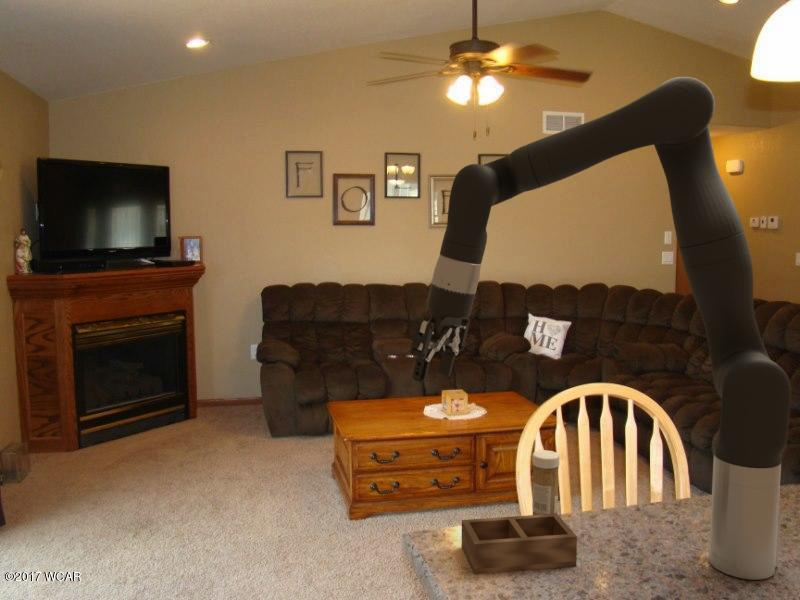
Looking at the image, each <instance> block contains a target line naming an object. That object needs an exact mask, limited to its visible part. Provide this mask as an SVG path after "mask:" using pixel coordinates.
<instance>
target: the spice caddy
mask: <svg viewBox="0 0 800 600" xmlns="http://www.w3.org/2000/svg"><path fill="white" fill-rule="evenodd" d="M461 549H462V552H463V554H464V556H465V558H466V560H467V562H468V563H469V566H470V567H471V569H472V571H473V574H474V575H482V574H496V573H497V574H498V573H506V572H518V571H519V572H520V571H521V572H522V571H530V570H532V571H533V570H542V569H543V570H544V569H545V570H546V569H555V568H556V569H557V568H559V569H560V568H568V567H577V561H578V559H577V557H578V555H577V554H578V536H577V535H576V534H575V532H574V531H573V530H572V529H571V528H570V526H569V525H568V524H567V523H566V522H565V521H564V520H563V518H562V517H560V515H559V513H557V514H543V515H533V514H531V515H530V514H527V515H516V516H515V515H514V516H502V517H500V516H499V517H489V518H488V517H487V518H475V519H471V518H470V519H462V520H461Z"/></svg>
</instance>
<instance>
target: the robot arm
mask: <svg viewBox="0 0 800 600" xmlns="http://www.w3.org/2000/svg"><path fill="white" fill-rule="evenodd" d="M715 103H716V101H715V97H714V94H713V93H712V90H711V89H710V88H709V87H708V85H707V84H706V83H704V82H703V81H702V80H699V79H698V78H695V77H692V76H678V77H672V78H670V79H668V80H666V81H664V82H662V83H660V84H659V85H658V86H657V87H655V88H653V89H652V90H651V91H649V92H646V94H644V95H642V96H640V97H639V98H636V99H634V100H633V101H631V102H629V103H627V104H626V105H624V106H622V107H620V108H617V109H615V110H613V111H612V112H609V113H607V114H604V115H603V116H599V117H598V118H595V119H592V120H590V121H588V122H584V123H582V124H579V125H576V126H574V127H570V128H567V129H564V130H562V131H559V132H556V133H553V134H551V135H548V136H545V137H543V138H540V139H537V140H535V141H532V142H529V143H528V144H524V145H523V146H520V147H518V148H516V149H514V150H513V151H512V152H510V154H508V155H506V156H503V157H501V158H498V159H495V160H492V161H490V162H487V163H484V164H480V163H479V164H478V163H471V164H467V165H466V166H464V167H462V168H461V169H459V171H458V172H457V174H456V175H455V177H454V179H453V182H452V185H451V189H450V195H449V199H448V200H449V201H448V210H447V220H446V221H447V222H446V229H445V232H444V235H443V238H442V242H441V247H440V251H439V255H438V258H437V261H436V263H435V266H434V269H433V273H432V274H433V275H432V279H431V283H430V287H429V291H428V295H427V300H426V303H425V306H426V308H427V310H429V311H430V312H431V315H430V318H429V319H428V321H427V320H424V319H420V318H419V320H418V321H417V324H416V328H415V331H414V335H413V339H412V344H411V347H410V351H409V354H410V355H411V356H414V357H415V358H416V360H415V363H414V364H415V365H414V368H413V372H412V379H413V380H414V381H416V382H419V383H422V384H423V383H425V382H426V381H427V377H428V372H429V368H430V363H431V360H432V358H433V356H434V355H435V353H436V352H439V351H440V350H441V348H442V349H443V351H442V353H441V358H440V362H439V365H438V369H437V371H438V373H439V374H441V375H443V376H446V377H448V376H450V375H451V374H452V371H453V366H454V363H455V358H456V356H458V354H459V352H463V351H464V349H465V347H466V341H467V336H468V334H469V333H468V332H469V327H470V324H471V319H470V318H469V317H470V316H471V312H472V308H473V305H474V301H475V297H476V293H477V288H478V285H479V280H480V275H481V268H482V261H483V258H484V254H485V250H486V248H487V247H486V246H487V241H488V233H487V227H488V222H489V219H490V215H491V211H492V210H491V209H492V207H494V206H497V205H499V204H501V203H504V202H505V201H508V200H510V199H512V198H515V197H517V196H519V195H521V194H523V193H525V192H530V191H534V190H537V189H540V188H543V187H546V186H549V185H551V184H554V183H557V182H559V181H563V180H565V179H567V178H569V177H571V176H575V175H576V174H579V173H581V172H583V171H585V170H587V169H590V168H592V167H594V166H596V165H598V164H600V163H603V162H604V161H607V160H609V159H612V158H614V157H617V156H619V155H622V154H624V153H628V152H630V151H633V150H636V149H641V148H645V147H649V146H654V149H655V151H656V154H657V156H658V159H659V163H660V164H661V167H662V170H663V172H664V176H665V180H666V183H667V188H668V193H669V201H670V207H671V216H672V220H673V225H674V231H675V237H676V240H677V244H678V249H679V252H680V257H681V259H682V264H683V267H684V272H685V275H686V277H687V280H688V283H689V285H690V289H691V292H692V295H693V298H694V301H695V303H696V306H697V308H698V311H699V314H700V317H701V319H702V322H703V325H704V329H705V333H706V339H707V345H708V346H707V347H708V350H709V356H710V366H711V372H712V378H713V379H712V380H713V384H714V388H715V391H716V393H717V394H718V396H719V397H720V398H721V405H720V406H721V408H720V422H719V429H718V430H719V431H718V434H717V435H716V436H715V437H714V445H713V461H712V462H713V463H712V483H711V509H710V527H709V551H708V553H709V554H708V561H709V564H710V565H712V567H713V568H715V569H716V570H718V571H720V572H722V573H724V574H726V575H728V576H731V577H736V578H740V579H745V580H754V581H755V580H756V581H757V580H758V581H759V580H765V579H769V578H771V577H772V576H774V574H775V573H776V570H775V569H776V568H777V567H779V556H780V555H779V553H780V537H781V522H782V521H781V520H782V508H781V506H780V494H781V493H780V491H781V473H782V458H783V452H784V450H785V448H786V445H787V443H788V436H789V425H790V417H791V416H790V414H791V404H792V386H791V382H790V379H789V376H788V375H787V372H786V371H785V370H784V369H783V368H782V367H781V366H780V365H779V364H777V363H776V362H775V361H773V360H772V359H771V358H770V356H769V353H768V351H767V350H766V347H765V344H764V341H763V339H762V337H761V336H762V335H761V333H760V331H759V327H758V323H757V321H756V316H755V309H754V269H753V262H752V256H751V252H750V251H751V250H750V249H749V244H748V240H747V236H746V232H745V229H744V226H743V222H742V220H741V217H740V215H739V212H738V210H737V207H736V206H735V203H734V200H733V198H732V196H731V194H730V192H729V190H728V189H727V185H726V184H725V181H723V178H722V176H721V173H720V171H719V169H718V167H717V163H716V158H715V154H714V150H713V149H714V148H713V143H712V138H711V131H710V123H711V121H712V118H713V117H714V114H715V113H714V112H715V109H716V107H715V106H716V104H715ZM419 343H420V344H419Z"/></svg>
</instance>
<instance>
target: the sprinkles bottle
mask: <svg viewBox="0 0 800 600" xmlns="http://www.w3.org/2000/svg"><path fill="white" fill-rule="evenodd" d="M531 461H532V462H531V463H532V467H533V468H532V469H533V470H532V471H533V472H532V495H531V496H532V499H531V500H532V503H531V504H532V505H531V506H532V515H543V514H559V513H558V511H559V486H558V484H559V483H558V482H559V466H560V455H559V454H558V453H557V452H556V451H553V450H546V449H545V450H543V449H541V450H537V451H533V453H532V460H531Z"/></svg>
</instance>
